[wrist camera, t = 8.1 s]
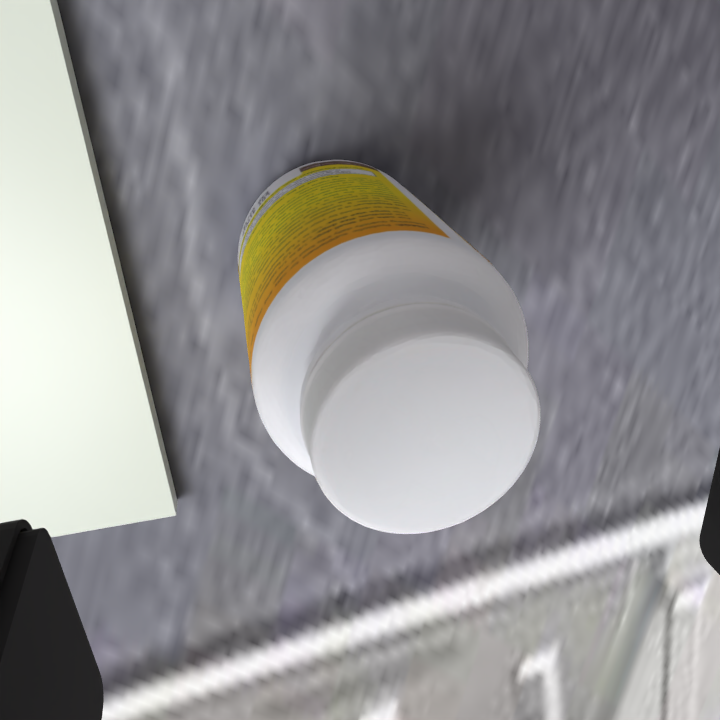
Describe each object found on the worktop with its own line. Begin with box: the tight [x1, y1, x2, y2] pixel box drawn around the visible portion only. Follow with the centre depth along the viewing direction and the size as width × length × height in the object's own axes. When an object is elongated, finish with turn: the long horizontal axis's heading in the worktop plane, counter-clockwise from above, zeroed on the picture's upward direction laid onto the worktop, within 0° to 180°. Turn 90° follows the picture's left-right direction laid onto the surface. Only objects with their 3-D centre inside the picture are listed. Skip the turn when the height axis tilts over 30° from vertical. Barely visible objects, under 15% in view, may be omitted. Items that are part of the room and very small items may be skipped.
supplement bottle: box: [238, 160, 541, 534], centre depth 15 cm, size 6×6×10 cm
